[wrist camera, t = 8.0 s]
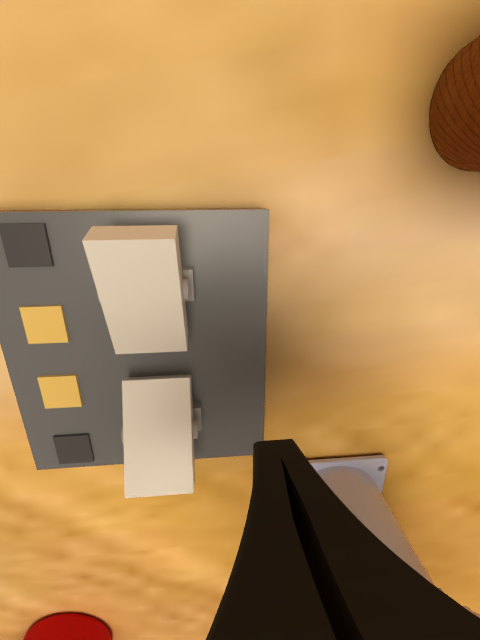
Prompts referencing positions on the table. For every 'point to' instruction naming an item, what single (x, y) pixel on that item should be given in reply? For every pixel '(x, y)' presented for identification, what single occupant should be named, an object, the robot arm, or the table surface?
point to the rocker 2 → (158, 435)
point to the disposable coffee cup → (458, 110)
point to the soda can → (69, 628)
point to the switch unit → (95, 341)
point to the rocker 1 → (140, 286)
